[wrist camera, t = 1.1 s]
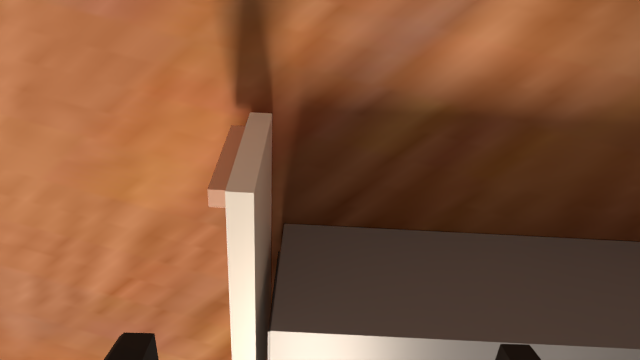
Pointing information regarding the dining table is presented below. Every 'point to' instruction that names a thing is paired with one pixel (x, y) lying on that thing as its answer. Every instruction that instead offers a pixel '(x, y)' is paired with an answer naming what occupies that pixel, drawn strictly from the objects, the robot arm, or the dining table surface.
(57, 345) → the dining table surface
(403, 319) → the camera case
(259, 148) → the side door
